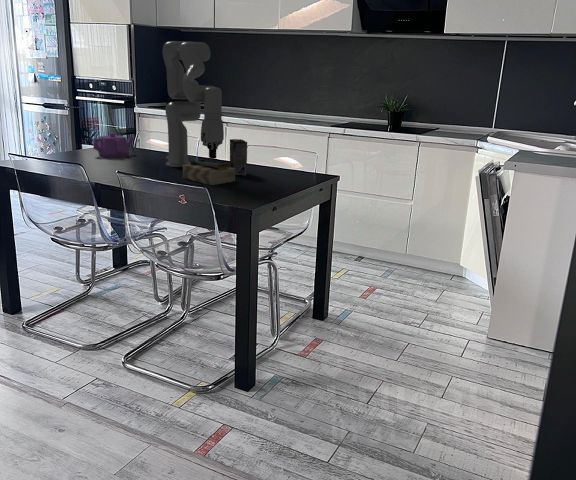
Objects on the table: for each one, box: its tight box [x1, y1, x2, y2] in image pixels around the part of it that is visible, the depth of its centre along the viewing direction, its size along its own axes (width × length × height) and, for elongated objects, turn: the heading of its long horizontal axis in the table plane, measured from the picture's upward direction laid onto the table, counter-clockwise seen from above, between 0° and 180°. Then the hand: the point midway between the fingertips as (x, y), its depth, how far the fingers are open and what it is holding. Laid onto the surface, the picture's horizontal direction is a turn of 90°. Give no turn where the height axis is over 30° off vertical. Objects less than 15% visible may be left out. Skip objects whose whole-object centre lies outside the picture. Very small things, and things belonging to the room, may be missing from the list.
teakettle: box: [93, 132, 134, 159], centre depth 304 cm, size 17×17×12 cm
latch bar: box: [195, 161, 220, 167], centre depth 253 cm, size 16×4×1 cm, turn 48°
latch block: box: [182, 159, 236, 186], centre depth 253 cm, size 20×14×8 cm
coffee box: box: [229, 138, 248, 176], centre depth 268 cm, size 9×6×16 cm
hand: (212, 158), depth 250 cm, fingers closed
